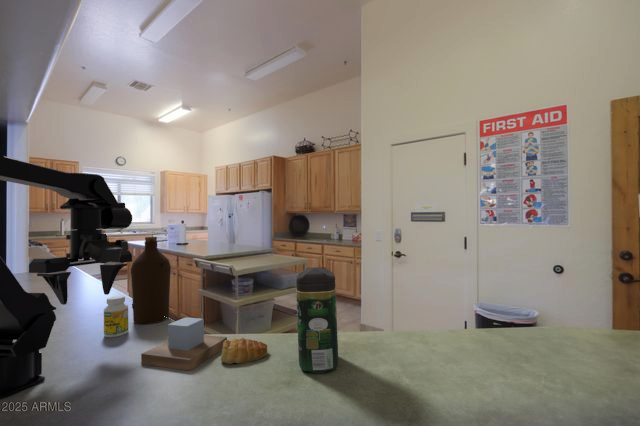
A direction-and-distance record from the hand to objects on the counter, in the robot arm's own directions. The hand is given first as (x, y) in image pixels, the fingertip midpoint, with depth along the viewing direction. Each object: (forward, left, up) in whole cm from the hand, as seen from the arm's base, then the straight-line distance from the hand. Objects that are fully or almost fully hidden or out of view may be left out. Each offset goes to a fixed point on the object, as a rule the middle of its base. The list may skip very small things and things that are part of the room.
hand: (86, 299), depth 68 cm
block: (+5, -23, -10) cm, 26 cm away
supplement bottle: (+11, +5, -12) cm, 17 cm away
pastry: (+7, -35, -12) cm, 38 cm away
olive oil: (+23, +6, -12) cm, 27 cm away
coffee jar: (+8, -52, -12) cm, 54 cm away
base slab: (+5, -23, -12) cm, 26 cm away
